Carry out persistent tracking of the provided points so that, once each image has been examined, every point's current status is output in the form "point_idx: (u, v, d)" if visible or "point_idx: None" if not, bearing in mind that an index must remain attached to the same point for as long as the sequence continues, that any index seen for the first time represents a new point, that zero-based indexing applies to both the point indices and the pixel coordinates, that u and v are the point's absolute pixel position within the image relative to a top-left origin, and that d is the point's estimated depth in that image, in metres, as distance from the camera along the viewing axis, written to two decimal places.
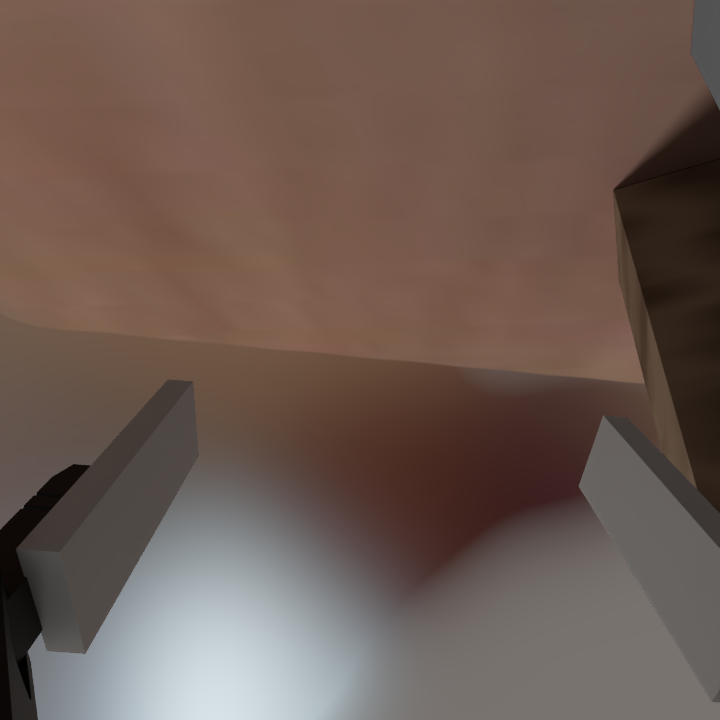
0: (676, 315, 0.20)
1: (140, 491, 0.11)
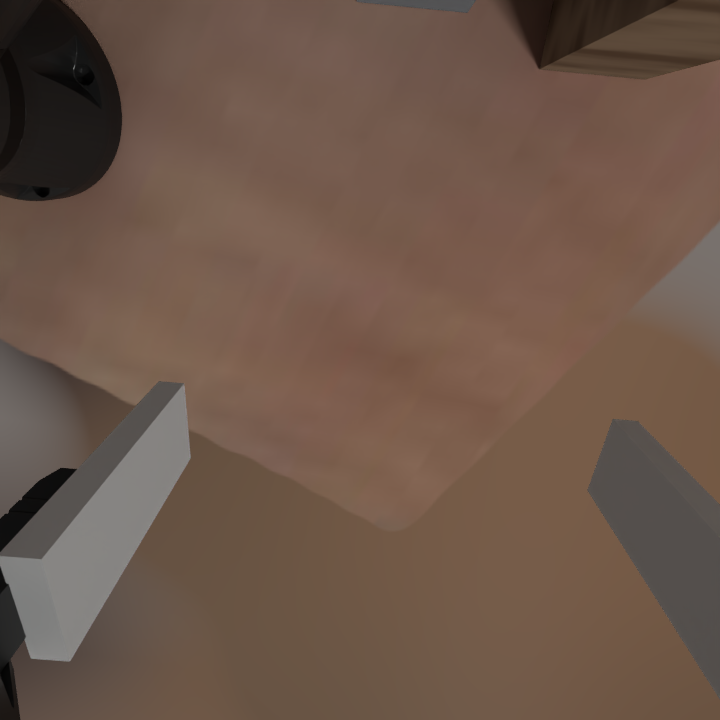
0: (590, 26, 0.27)
1: (128, 495, 0.11)
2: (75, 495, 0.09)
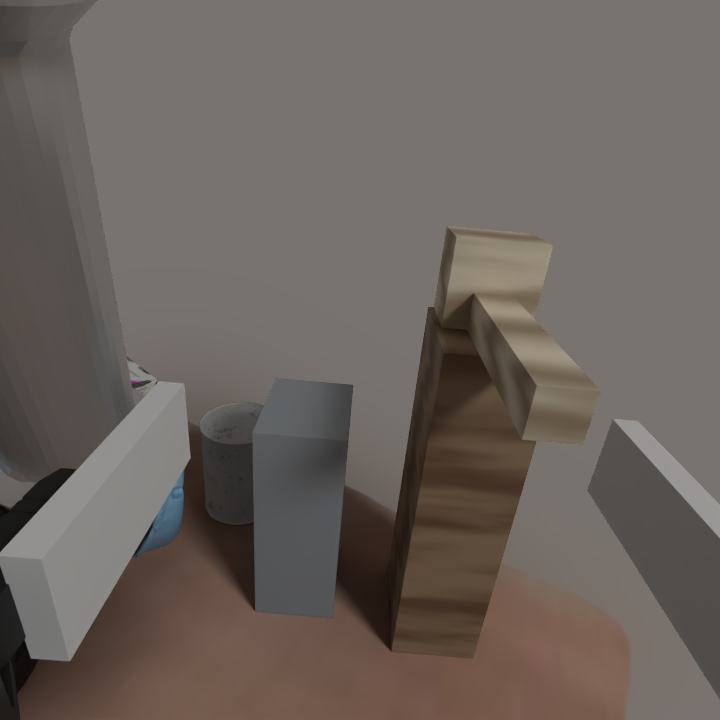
0: (400, 583, 0.43)
1: (128, 495, 0.11)
2: (75, 495, 0.09)
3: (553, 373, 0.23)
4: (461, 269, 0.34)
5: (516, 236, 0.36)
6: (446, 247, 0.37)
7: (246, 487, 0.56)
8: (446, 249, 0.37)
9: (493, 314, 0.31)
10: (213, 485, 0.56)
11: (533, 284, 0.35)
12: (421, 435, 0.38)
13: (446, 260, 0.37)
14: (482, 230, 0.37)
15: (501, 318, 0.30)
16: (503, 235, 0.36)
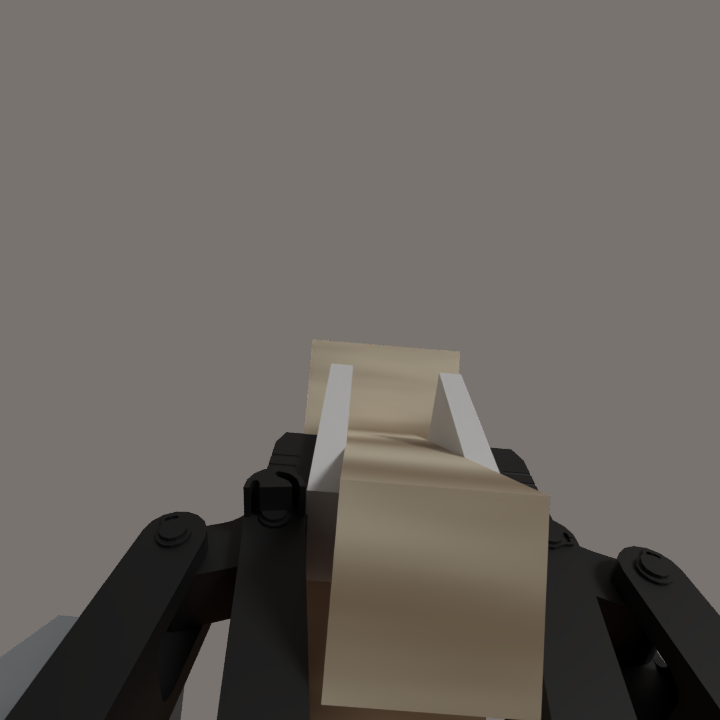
0: None
1: None
2: (332, 449, 0.11)
3: (415, 471, 0.08)
4: (324, 389, 0.22)
5: None
6: None
7: None
8: None
9: (355, 435, 0.17)
10: None
11: None
12: None
13: None
14: None
15: (367, 437, 0.16)
16: None
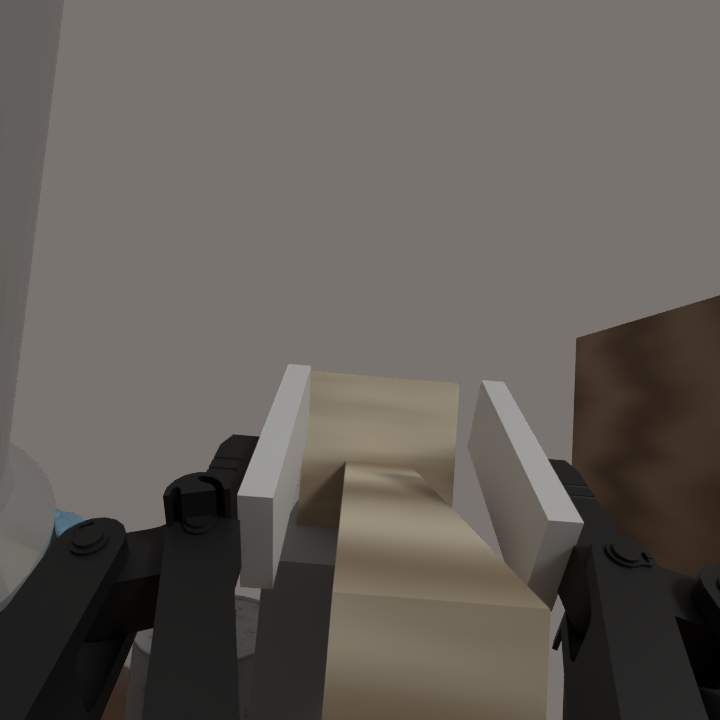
0: None
1: (293, 457, 0.13)
2: (272, 452, 0.11)
3: (411, 561, 0.08)
4: (322, 422, 0.21)
5: None
6: None
7: None
8: None
9: (353, 478, 0.16)
10: None
11: (440, 445, 0.21)
12: (662, 557, 0.16)
13: None
14: None
15: (364, 482, 0.16)
16: None
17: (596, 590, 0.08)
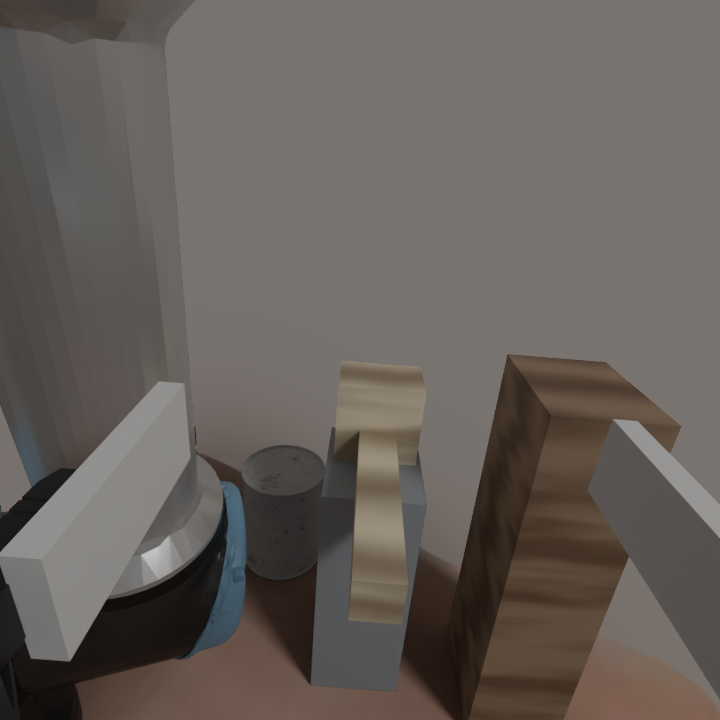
0: (479, 659, 0.38)
1: (128, 495, 0.11)
2: (75, 495, 0.09)
3: (375, 559, 0.26)
4: (346, 411, 0.38)
5: (400, 375, 0.39)
6: None
7: (291, 540, 0.52)
8: None
9: (362, 466, 0.34)
10: (256, 537, 0.52)
11: (412, 424, 0.38)
12: (508, 498, 0.35)
13: None
14: (373, 366, 0.41)
15: (367, 472, 0.33)
16: (388, 375, 0.39)
17: None
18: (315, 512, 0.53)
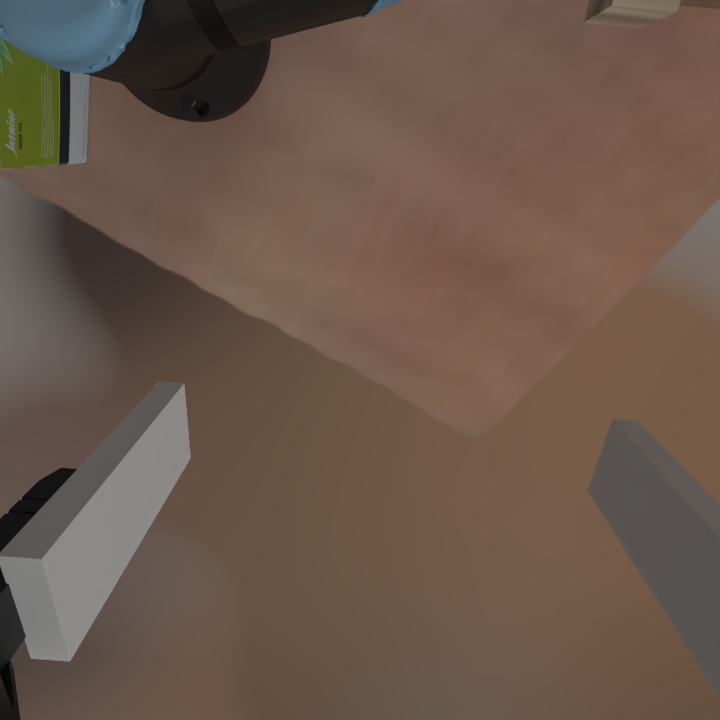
0: None
1: (128, 495, 0.11)
2: (75, 495, 0.09)
3: None
4: None
5: None
6: None
7: None
8: None
9: None
10: None
11: None
12: None
13: None
14: None
15: None
16: None
17: None
18: None
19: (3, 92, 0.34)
